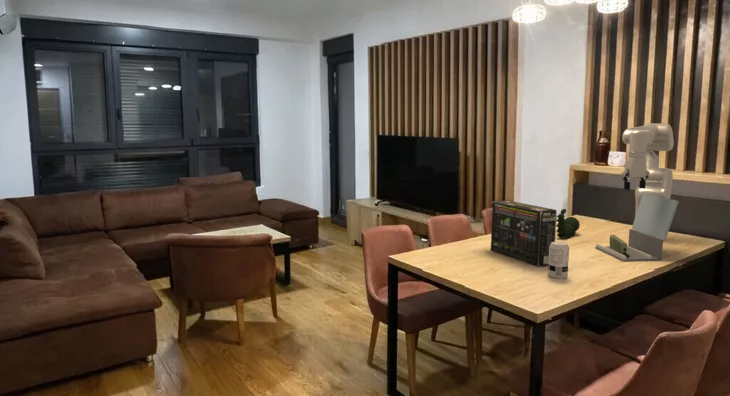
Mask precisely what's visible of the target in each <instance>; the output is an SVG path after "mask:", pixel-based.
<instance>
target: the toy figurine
mask: <svg viewBox="0 0 730 396" xmlns="http://www.w3.org/2000/svg"><path fill="white" fill-rule="evenodd" d="M566 213H567V209H566V208H562V209H561V210H560V213H559V214H558V215H557V219H556V227H555V228H557V229H556V230H555V231H556V237H558V238H562V237H563V238H564V239H565V238H567V239H570V238H572V237H574V236H575V235H576V232H577V231H578V230H579V229H580V225H581V224H580V222H579V220H578V219H577V218H576V217H574V216H569V217H568V216H567V217H566V218H565V214H566Z"/></svg>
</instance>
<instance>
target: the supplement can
mask: <svg viewBox="0 0 730 396" xmlns="http://www.w3.org/2000/svg"><path fill="white" fill-rule="evenodd" d="M569 257H570V246H569V243H567V242H564V241H555V242H551V244H550V246H549V262H548V265H547V266H548V267H547V276H548V277H551V278H552V279H560V280H561V279H562V280H563V279H566V278H568V275H569V274H568V273H569V260H570V258H569Z"/></svg>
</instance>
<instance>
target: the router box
mask: <svg viewBox="0 0 730 396" xmlns="http://www.w3.org/2000/svg"><path fill="white" fill-rule="evenodd" d="M491 204H492V215H491V216H492V217H491V232H490V233H491V236H490V237H491V238H490V239H491V241H490V251H492V252H494V253H497V254H500V255H503V256H506V257H509V258H512V259H516V260H518V261H521V262H524V263H527V264H530V265H533V266H535V267H542V266H548V262H549V246H550V244H551V242H556V237H557V232H556V231H557V230H556V228H557V227H556V225H557V221H556V220H557V219H558V217H557V216H558V215H557V214H558V212H557V209H553V208H548V207H542V206H538V205H533V204H528V203H524V202H523V203H522V202H518V201H517V202H516V201H512V200H502V201H501V200H499V201H498V200H497V201H492V202H491Z"/></svg>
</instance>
